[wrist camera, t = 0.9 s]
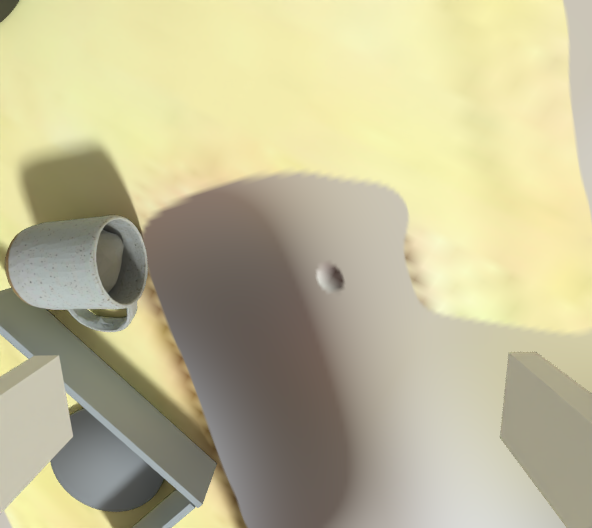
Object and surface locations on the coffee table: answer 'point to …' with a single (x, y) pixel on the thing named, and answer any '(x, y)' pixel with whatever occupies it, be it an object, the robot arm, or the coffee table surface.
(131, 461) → the slate coaster
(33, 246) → the ceramic mug
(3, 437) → the robot arm
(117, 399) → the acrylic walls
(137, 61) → the coffee table surface
